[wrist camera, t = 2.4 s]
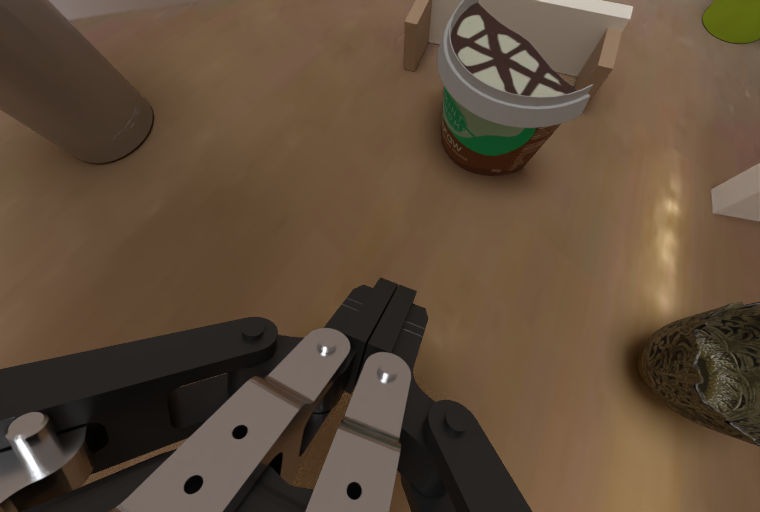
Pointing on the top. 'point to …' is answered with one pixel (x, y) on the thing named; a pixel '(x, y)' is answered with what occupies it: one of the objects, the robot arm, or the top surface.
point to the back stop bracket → (536, 32)
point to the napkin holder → (739, 195)
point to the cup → (709, 369)
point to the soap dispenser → (733, 20)
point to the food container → (498, 94)
